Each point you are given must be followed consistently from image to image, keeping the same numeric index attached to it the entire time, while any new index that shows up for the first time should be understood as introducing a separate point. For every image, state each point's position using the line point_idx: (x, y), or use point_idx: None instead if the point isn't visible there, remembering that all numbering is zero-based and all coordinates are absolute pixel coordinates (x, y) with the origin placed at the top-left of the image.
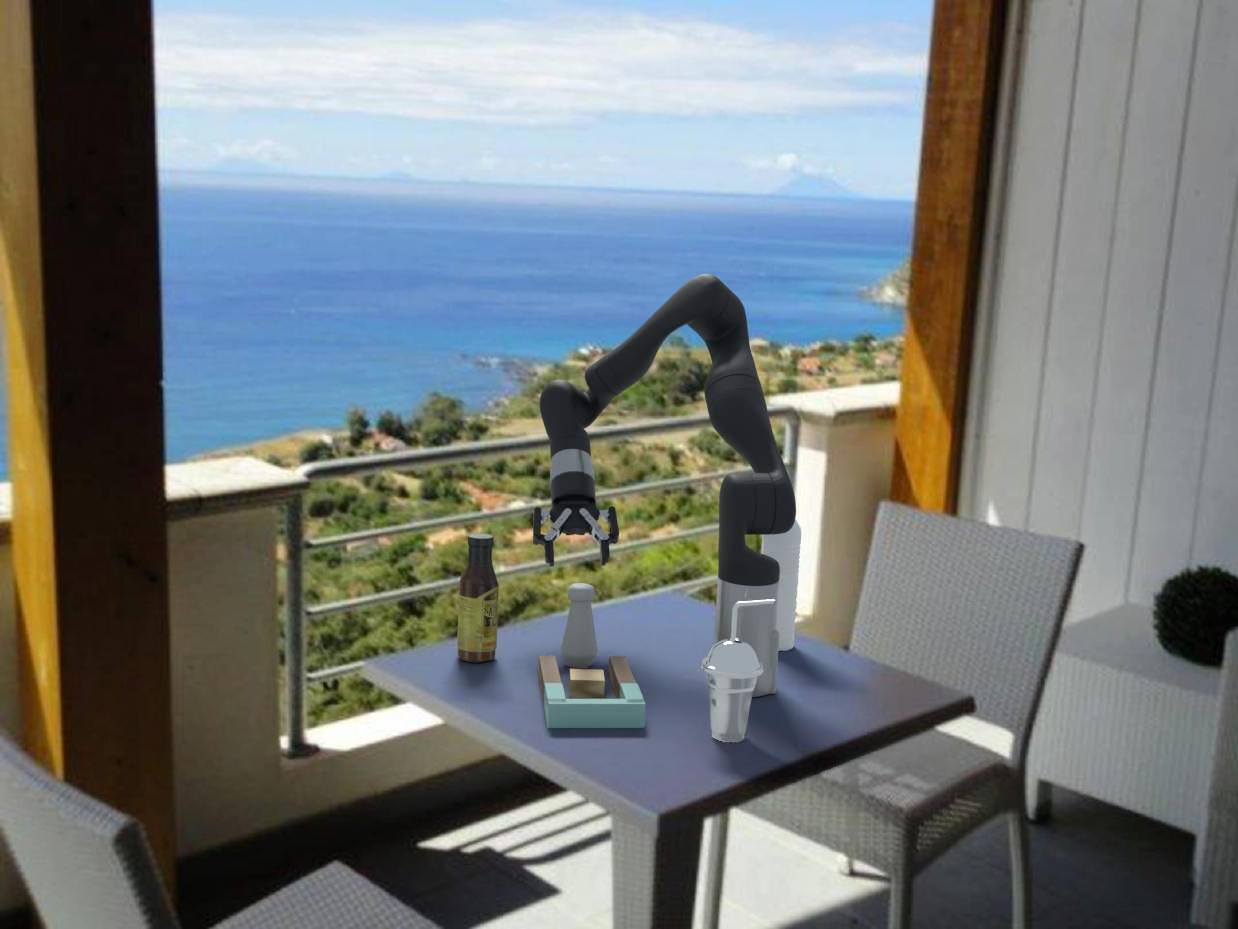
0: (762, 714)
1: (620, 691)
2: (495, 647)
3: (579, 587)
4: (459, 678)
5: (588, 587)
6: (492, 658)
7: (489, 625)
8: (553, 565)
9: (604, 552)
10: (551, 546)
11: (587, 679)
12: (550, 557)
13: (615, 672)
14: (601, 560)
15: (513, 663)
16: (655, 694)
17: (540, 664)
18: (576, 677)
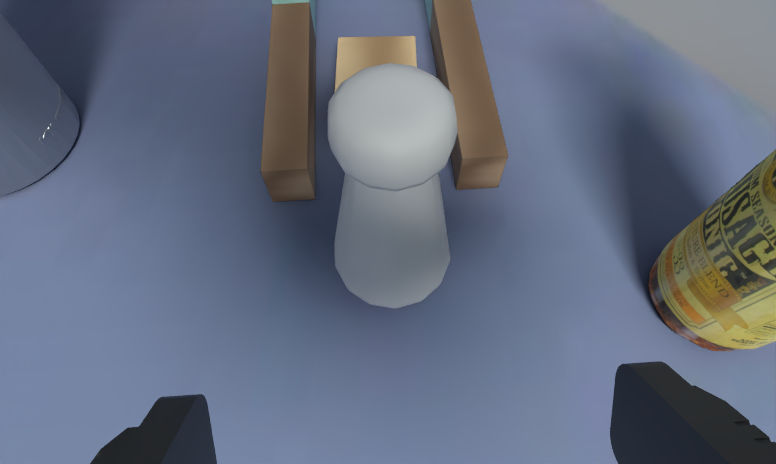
0: (44, 27)
1: (310, 3)
2: (660, 267)
3: (402, 67)
4: (684, 150)
5: (358, 76)
6: (650, 272)
7: (718, 199)
8: (613, 419)
9: (145, 434)
10: (742, 451)
11: (376, 39)
12: (667, 370)
13: (307, 66)
14: (203, 443)
15: (580, 265)
16: (225, 97)
17: (494, 99)
18: (401, 47)
